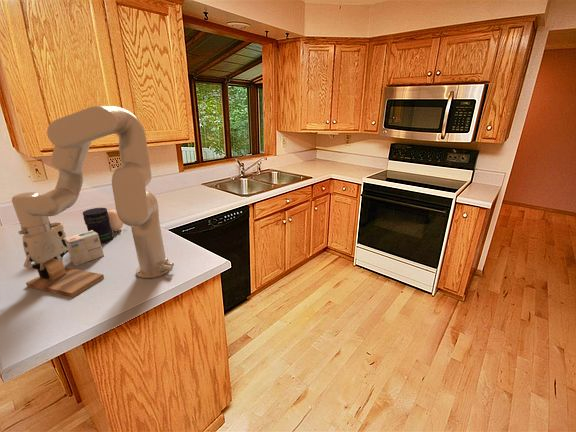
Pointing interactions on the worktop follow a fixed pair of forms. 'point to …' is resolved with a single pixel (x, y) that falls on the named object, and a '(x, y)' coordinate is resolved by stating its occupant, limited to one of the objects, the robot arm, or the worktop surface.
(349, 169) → the worktop surface
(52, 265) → the block
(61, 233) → the character mug
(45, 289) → the board
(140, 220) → the robot arm
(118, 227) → the egg
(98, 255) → the light bulb box
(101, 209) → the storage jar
